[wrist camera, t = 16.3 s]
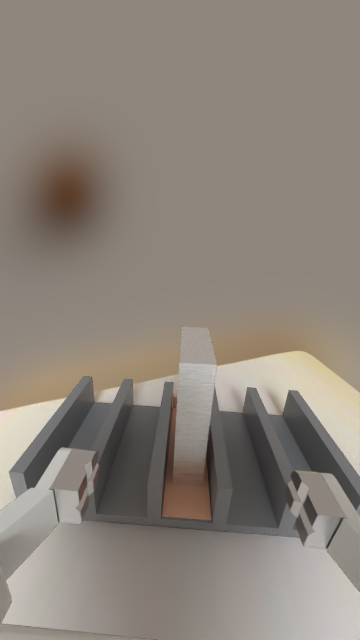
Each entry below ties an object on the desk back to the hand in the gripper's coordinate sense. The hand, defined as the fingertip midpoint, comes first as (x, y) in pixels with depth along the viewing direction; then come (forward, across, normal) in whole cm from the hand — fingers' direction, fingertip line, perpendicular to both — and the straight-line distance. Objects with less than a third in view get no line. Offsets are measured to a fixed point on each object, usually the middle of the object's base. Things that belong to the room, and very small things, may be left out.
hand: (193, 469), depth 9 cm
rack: (+13, -1, +15) cm, 20 cm away
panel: (+13, -1, +14) cm, 19 cm away
